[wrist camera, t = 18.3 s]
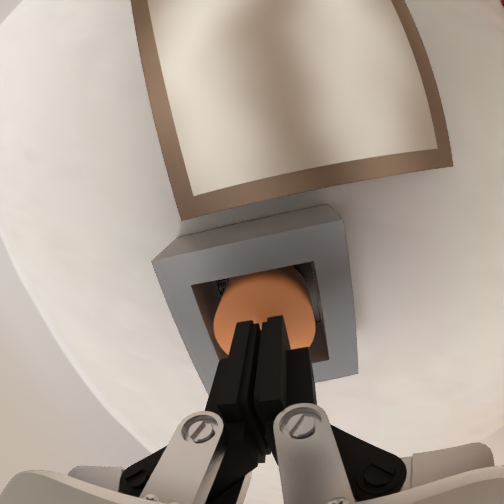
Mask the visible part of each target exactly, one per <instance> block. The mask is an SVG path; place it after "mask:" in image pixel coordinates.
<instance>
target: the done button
mask: <svg viewBox="0 0 504 504" xmlns="http://www.w3.org/2000/svg"><path fill="white" fill-rule="evenodd" d="M279 315H283V317H284V321H285V325H286V330H287V334H288V338H289V343H290V347H291V349H297V348H303V347H308V346H309V347H310V345H311V343H312V341H313V339H314V335H315V319H314V314H313V309H312V304H311V299H310V295H309V290H308V286H307V284H306V281H305V279H304V278H303V276H302V275H301V274H300V273H299V271H297V270H296V269H295V268H294V267H292V266H286V267H281V268H276V269H272V270H267V271H262V272H256V273H251V274H246V275H241V276H236V277H231V278H229V280H228V282H227V285H226V287H225V290H224V293H223V295H222V298H221V301H220V303H219V306H218V309H217V312H216V314H215V318H214V333H215V337H216V339H217V342H218V343H219V345H220V347H221V348H222V349H223V350H224V352H225V353H227V354H228V355H229V351H230V347H231V343H232V339H233V335H234V331H235V327H236V324H237V322H243V321H249V320H252V321H253V322H254V324H255V323H259V325H260V329H261V328H262V322H267V318H268V317H273V316H279Z"/></svg>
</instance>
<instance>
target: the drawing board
mask: <svg viewBox="0 0 504 504" xmlns="http://www.w3.org/2000/svg"><path fill="white" fill-rule="evenodd" d="M131 5H132V12H133V18H134V24H135V30H136V36H137V41H138V47H139V52H140V57H141V62H142V67H143V72H144V77H145V82H146V87H147V91H148V96H149V100H150V105H151V109H152V113H153V118H154V122H155V126H156V130H157V134H158V138H159V142H160V146H161V150H162V154H163V158H164V161H165V165H166V169H167V172H168V176H169V180H170V183H171V187H172V191H173V194H174V198H175V201H176V204H177V208H178V211H179V215H180V218H181V221H183V220H187V219H191V218H194V217H198V216H202V215H206V214H210V213H214V212H218V211H222V210H226V209H231V208H235V207H239V206H243V205H247V204H252V203H256V202H260V201H265V200H269V199H274V198H278V197H283V196H287V195H292V194H297V193H301V192H306V191H311V190H316V189H321V188H326V187H331V186H336V185H341V184H347V183H352V182H357V181H363V180H369V179H374V178H380V177H386V176H392V175H398V174H404V173H410V172H417V171H424V170H430V169H437V168H445V167H452V166H453V160H452V154H451V147H450V141H449V136H448V131H447V126H446V121H445V116H444V112H443V107H442V103H441V99H440V96H439V92H438V88H437V85H436V81H435V78H434V74H433V71H432V68H431V65H430V62H429V59H428V56H427V53H426V51H425V48H424V45H423V42H422V40H421V37H420V35H419V32H418V30H417V27H416V25H415V23H414V20H413V18H412V16H411V14H410V12H409V9H408V7H407V5H406V3H405V1H404V0H131Z"/></svg>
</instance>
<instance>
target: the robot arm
mask: <svg viewBox="0 0 504 504" xmlns="http://www.w3.org/2000/svg"><path fill="white" fill-rule="evenodd" d="M271 452H272V454H273V456H274V458H275V460H276V463H277V465H278V466H279V472H280V478H281V485H282V492H283V499H284V504H504V465H502V466H494V460H493V454H492V452H491V449H490V448H489V447H488V446H487V445H485V444H482V443H470V444H466V445H462V446H457V447H452V448H447V449H442V450H436V451H430V452H423V453H416V454H413V455H412V457H403V458H399V457H397V456H396V455H394V454H391V453H389V452H387V451H384V450H382V449H380V448H378V447H376V446H373V445H371V444H369V443H367V442H365V441H363V440H361V439H358V438H356V437H354V436H352V435H350V434H348V433H346V432H344V431H342V430H340V429H338V428H336V427H334V426H333V425H331V424H330V423H329V420H328V417H327V415H326V413H325V411H324V410H323V409H322V408H320V407H319V406H317V402H316V392H315V382H314V374H313V367H312V361H311V356H310V350H309V346H308V347H303V348H297V349H291V347H290V343H289V338H288V334H287V330H286V325H285V321H284V317H283V315H279V316H273V317H268V318H267V322H262V328H261V329H260V325H259V323H255V324H254V322H253V321H252V320H249V321H243V322H237V324H236V327H235V331H234V335H233V339H232V343H231V347H230V351H229V355H228V358H223V359H220V360H219V363H218V366H217V370H216V373H215V377H214V380H213V384H212V387H211V391H210V394H209V398H208V401H207V405H206V408H205V411H200V412H196V413H193V414H191V415H189V416H187V417H186V418H184V419H183V420H182V421H181V423H180V424H179V425H178V427H177V429H176V431H175V433H174V434H173V436H172V438H171V440H170V442H169V444H168V445H167V446H165V447H164V448H162V449H160V450H159V451H157V452H155V453H153V454H151V455H150V456H148V457H146V458H144V459H142V460H141V461H139V462H137V463H135V464H133V465H131V466H130V467H128V468H127V469H126V470H125V469H124V468H122V467H95V466H77V467H75V468H73V469H72V470H71V471H70V472H69V474H68V476H66V475H64V474H60V473H56V472H52V471H44V470H30V471H24V472H20V473H18V474H16V475H15V476H14V477H13V478H12V479H11V480H10V482H9V483H8V484H7V485H6V487H5V488H4V490H3V492H2V493H1V495H0V504H243V502H244V499H245V496H246V493H247V490H248V487H249V483H250V480H251V476H252V472H251V471H252V470H253V469H255V468H256V467H257V466H258V463H265V456H266V455H268V454H271Z"/></svg>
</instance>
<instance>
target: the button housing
mask: <svg viewBox="0 0 504 504" xmlns="http://www.w3.org/2000/svg"><path fill="white" fill-rule="evenodd" d="M310 261H311V266H312V272H313V277H314V283H315V289H316V294H317V300H318V306H319V313H320V319H321V322H316V323H315V335H314V339H313V341H312V343H311V345H310V347H309V350H310V356H311V361H312V367H313V374H314V382H315V383H316V382H321V381H327V380H332V379H336V378H341V377H346V376H350V375H354V374H358V354H357V337H356V323H355V311H354V300H353V290H352V281H351V273H350V264H349V257H348V250H347V243H346V236H345V229H344V223H343V219H342V218H341V217H340V216H339V215H338V214H337V213H336V212H335V211H334V210H333V209H332V208H331V207H330V206H329V205H328V204H325V205H320V206H315V207H311V208H306V209H301V210H296V211H292V212H287V213H282V214H278V215H273V216H269V217H264V218H260V219H255V220H251V221H246V222H242V223H238V224H233V225H229V226H225V227H220V228H216V229H212V230H208V231H203V232H199V233H195V234H191V235H187V236H183V237H179V238H176V239H175V240H174V241H173V242H172V243H171V244H170V245H169V246H167V247H166V248H165V249H164V250H163V251H162V252H161V253H160V254H159V255H157V256H156V257H155V258H154V259H153V260H152V261H151V262H152V265H153V267H154V270H155V273H156V276H157V278H158V281H159V284H160V286H161V289H162V291H163V294H164V296H165V299H166V302H167V304H168V307H169V309H170V311H171V314H172V316H173V319H174V321H175V324H176V326H177V328H178V331H179V333H180V335H181V338H182V340H183V342H184V344H185V347H186V349H187V351H188V353H189V355H190V358H191V360H192V362H193V364H194V366H195V368H196V370H197V373H198V375H199V377H200V379H201V381H202V383H203V385H204V387H205V389H206V391H207V393H208V395H209V394H210V391H211V387H212V384H213V380H214V377H215V373H216V370H217V366H218V363H219V360H220V359H223V358H228V354H227V353H225V352H224V350H223V349H222V348H221V347H220V345H219V343H218V342H217V339H216V337H215V333H214V318H215V314H216V312H217V309H218V306H219V303H220V301H221V295H220V292H219V289H218V286H217V282H216V280H221V279H226V278H231V277H236V276H241V275H246V274H251V273H256V272H262V271H267V270H272V269H276V268H281V267H286V266H291V265H296V264H301V263H306V262H310Z"/></svg>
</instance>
